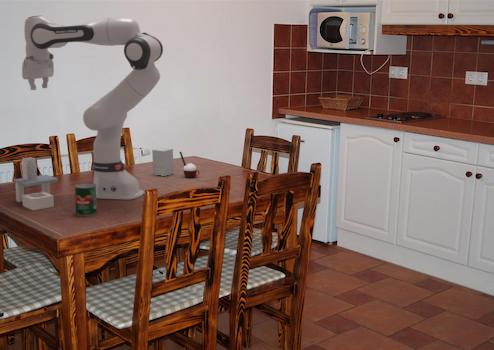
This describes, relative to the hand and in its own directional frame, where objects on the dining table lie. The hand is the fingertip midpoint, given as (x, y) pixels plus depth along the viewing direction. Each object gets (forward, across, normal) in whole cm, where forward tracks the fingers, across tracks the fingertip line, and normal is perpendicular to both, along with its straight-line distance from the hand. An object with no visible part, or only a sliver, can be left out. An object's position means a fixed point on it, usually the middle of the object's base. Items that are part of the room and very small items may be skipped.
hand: (39, 89), depth 279 cm
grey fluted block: (+44, +42, -39) cm, 73 cm away
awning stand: (+44, -20, -9) cm, 49 cm away
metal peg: (+35, -20, -5) cm, 41 cm away
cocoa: (+45, +41, -53) cm, 80 cm away
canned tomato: (+44, -30, -33) cm, 63 cm away
